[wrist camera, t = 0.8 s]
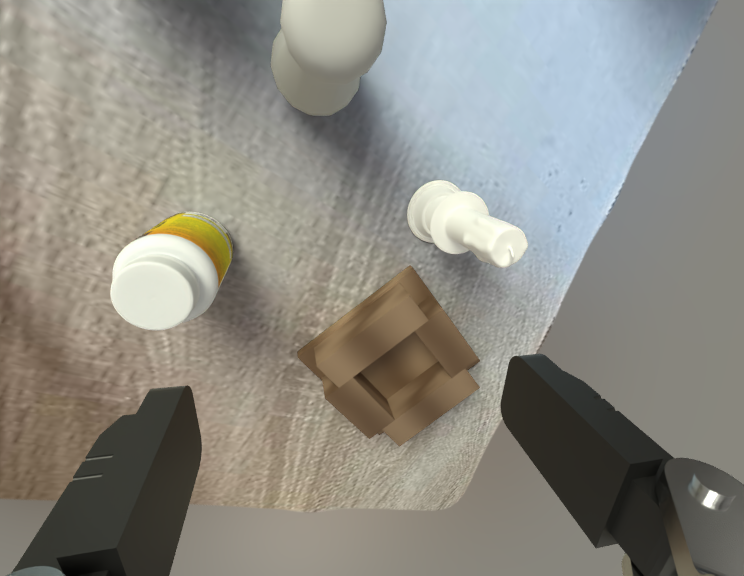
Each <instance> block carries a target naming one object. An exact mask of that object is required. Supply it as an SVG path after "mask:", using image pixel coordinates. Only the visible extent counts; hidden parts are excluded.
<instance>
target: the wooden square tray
mask: <svg viewBox="0 0 744 576" xmlns="http://www.w3.org/2000/svg"><path fill="white" fill-rule="evenodd" d="M297 353H298V358H299V359H300V360H301V361H302V362H303V363H304V364H305V365H306V366H307V367H308V368H309V369H310V370H311V371H312V372H314V373H315V374H316V375H317V376H318V377H319V378H320V379H321V380H322V381H323V387H324V394H325V399H326V400H328V401H329V402H330V403H331V404H332V405H333V406H334V407H335V408H336V409H337V410H338V411H339V412H341V413H342V414H343V415H344V416H345V417H346V418H347V419H348V420H349V421H350V422H351V423H353V424H354V425H355V426H356V427H357V428H358V429H359V430H360V431H361V432H362V433H363V434H364V435H366V436H367V437H368V438H369V439H370V438H371V437H373V436H374V435H376V434H377V433H378V434H379V435H380V434H382V433H383V432H385V433H386V434H387V435H388V436H389V437H390V438H391V439H392V440H393V441H394V442H396V443H397V444H398V445H399V446H401V445H402V444H404V443H405V442H406V441H408V440H409V439H410V438H412V437H413V436H414V435H416V434H417V433H419V432H420V431H421V430H423V429H424V428H425V427H427V426H428V425H430V424H431V423H432V422H434V421H435V420H436V419H438V418H439V417H440V416H442V415H443V414H445V413H446V412H447V411H449V410H450V409H451V408H453V407H454V406H456V405H457V404H458V403H460V402H461V401H462V400H464V399H465V398H466V397H468V396H469V395H471V394H472V393H473V392H475V391H476V390H477V389H479V388H480V387H479V386H478V384H477V383H476V382H475V380H474V379H473V378H472V376H471V375H470V374H469V373H468V371H467V370H469V369H470V368H471V367H473V366H474V365H475V364H477V363H478V362H479V361H480V360H479V359H478V357H477V356H476V354H475V353H474V352H473V350H472V349H471V347H470V346H469V345H468V343H467V342H466V341H465V339H464V338H463V336H462V335H461V334H460V332H459V331H458V329H457V328H456V327H455V325H454V324H453V323H452V321H451V320H450V318H449V317H448V316H447V314H446V313H445V311H444V310H443V309H442V307H441V306H440V305H439V303H438V302H437V301H436V299H435V298H434V296H433V295H432V294H431V292H430V291H429V289H428V288H427V287H426V285H425V284H424V283H423V281H422V280H421V278H420V277H419V276H418V274H417V273H416V271H415V270H414V269H413V268H412V267H411V266H409V267H407V268H406V269H405V270H403V271H402V272H401V273H399V274H398V275H397V276H395V277H394V278H393V279H392V280H390V281H389V282H388V283H386V284H385V285H384V286H382V287H381V288H380V289H379V290H377V291H376V292H375V293H373V294H372V295H371V296H369V297H368V298H367V299H365V300H364V301H363V302H362V303H360V304H359V305H358V306H356V307H355V308H354V309H352V310H351V311H350V312H349V313H347V314H346V315H345V316H343V317H342V318H341V319H339V320H338V321H337V322H335V323H334V324H333V325H332V326H330V327H329V328H328V329H326V330H325V331H324V332H322V333H321V334H320V335H319V336H317V337H316V338H315V339H313V340H312V341H311V342H309V343H308V344H307V345H306V346H304V347H303V348H302V349H300V350H299V351H298V352H297Z"/></svg>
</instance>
